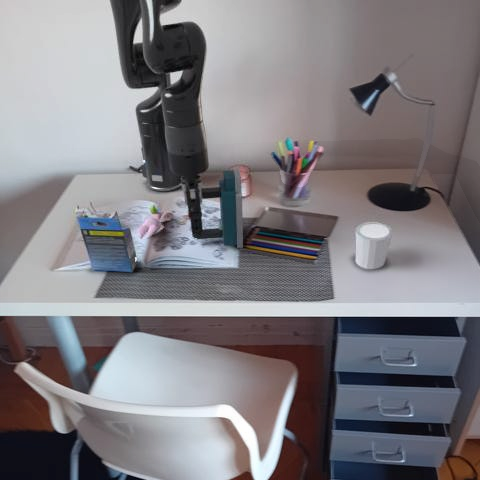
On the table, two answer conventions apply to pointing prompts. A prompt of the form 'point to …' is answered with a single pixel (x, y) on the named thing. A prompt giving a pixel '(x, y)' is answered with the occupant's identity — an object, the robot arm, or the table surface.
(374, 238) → the shot glass
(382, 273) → the table surface
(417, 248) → the table surface
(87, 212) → the soldier figure
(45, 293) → the table surface
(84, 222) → the tape cartridge
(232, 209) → the iron
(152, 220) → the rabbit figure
